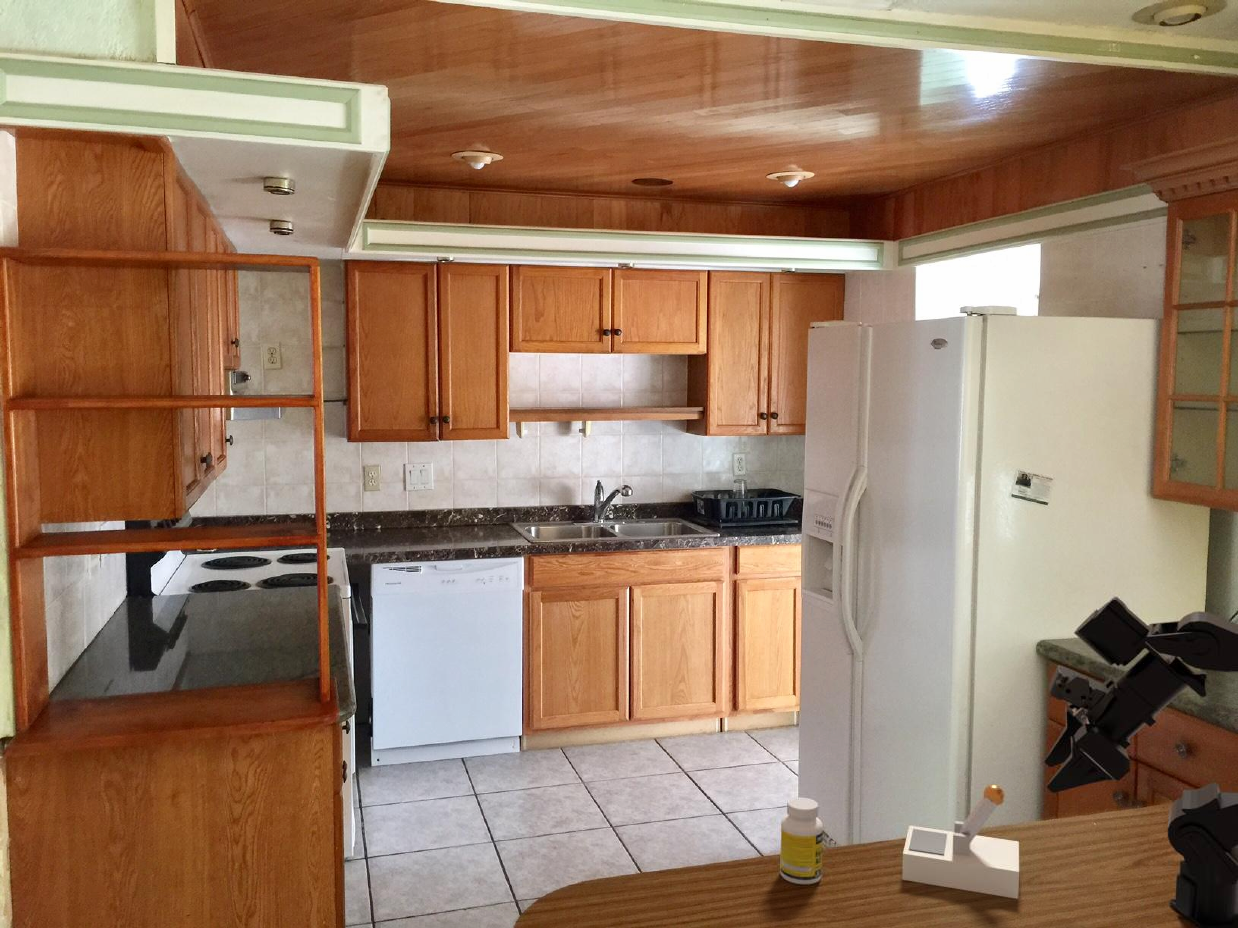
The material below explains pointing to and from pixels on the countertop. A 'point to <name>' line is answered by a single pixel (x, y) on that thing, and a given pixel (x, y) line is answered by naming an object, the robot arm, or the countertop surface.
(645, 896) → the countertop surface
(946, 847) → the switch box
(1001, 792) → the switch lever
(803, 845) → the supplement bottle
